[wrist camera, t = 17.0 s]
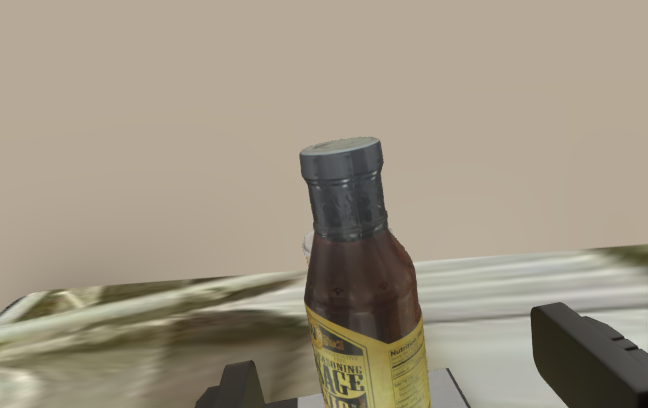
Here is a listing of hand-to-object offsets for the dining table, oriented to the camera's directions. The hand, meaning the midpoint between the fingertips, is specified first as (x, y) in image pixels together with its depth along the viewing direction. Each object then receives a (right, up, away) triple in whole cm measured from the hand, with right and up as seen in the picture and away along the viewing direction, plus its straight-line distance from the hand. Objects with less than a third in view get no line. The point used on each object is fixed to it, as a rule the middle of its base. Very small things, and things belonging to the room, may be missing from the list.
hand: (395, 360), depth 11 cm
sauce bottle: (+2, -12, +13) cm, 18 cm away
